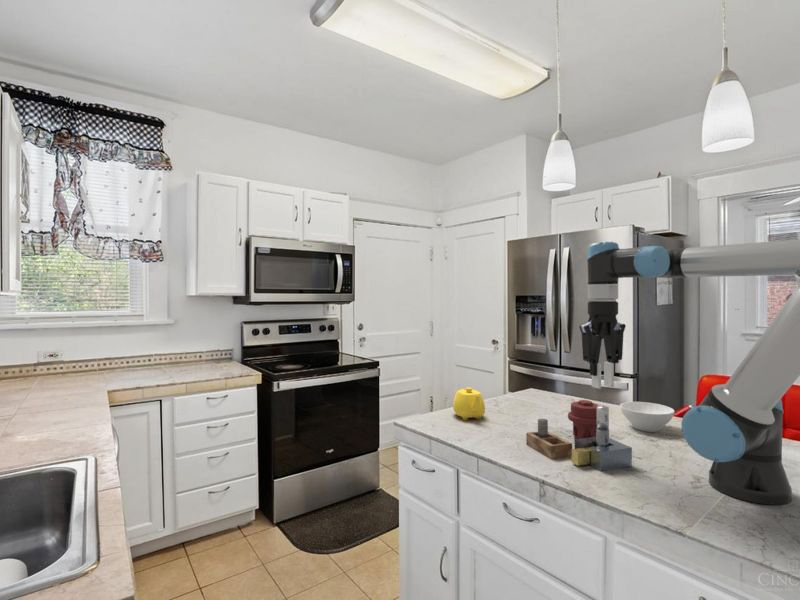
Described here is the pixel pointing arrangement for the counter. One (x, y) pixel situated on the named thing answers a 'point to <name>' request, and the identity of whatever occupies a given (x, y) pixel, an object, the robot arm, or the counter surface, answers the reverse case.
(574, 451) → the bar
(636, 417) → the bowl
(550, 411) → the counter surface
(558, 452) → the frame
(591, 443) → the socket block
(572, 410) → the mechanical component
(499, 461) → the counter surface
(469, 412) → the teapot
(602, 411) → the grey cylindrical peg
